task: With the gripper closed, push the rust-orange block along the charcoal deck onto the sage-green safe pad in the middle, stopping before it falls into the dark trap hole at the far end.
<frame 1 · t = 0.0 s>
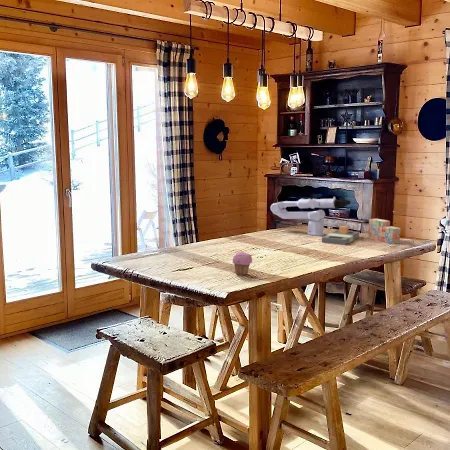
hand: (348, 203, 333), 22 cm above the table, tool horizontal, fingers open, 7 cm apart
block: (343, 233, 333), point 3 cm above the table, touching trap deck
trap deck: (341, 239, 329), on the table
stack of blocks: (383, 241, 328), on the table
cupcake: (242, 274, 240), on the table
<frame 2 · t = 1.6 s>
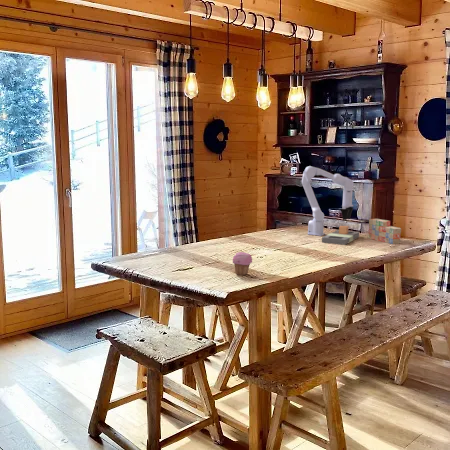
hand: (346, 219, 343), 10 cm above the table, tool pointing down, fingers open, 7 cm apart
nothing on the table moved.
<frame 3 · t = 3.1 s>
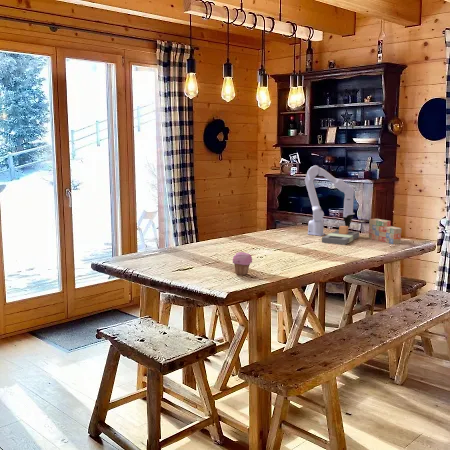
hand: (347, 227, 339), 6 cm above the table, tool pointing down, fingers closed
nothing on the table moved.
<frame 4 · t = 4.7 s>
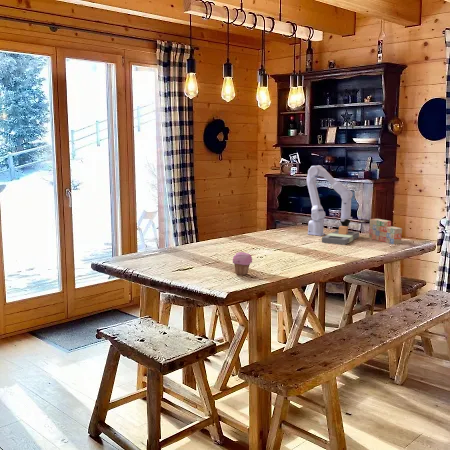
hand: (344, 231, 335), 4 cm above the table, tool pointing down, fingers closed
block: (343, 233, 332), point 3 cm above the table, touching gripper
everything else where it was.
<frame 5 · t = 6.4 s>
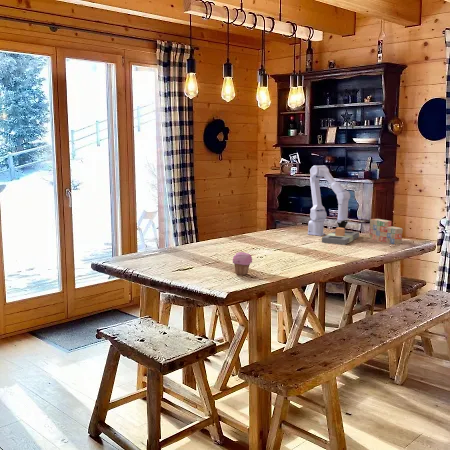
hand: (341, 233, 329), 4 cm above the table, tool pointing down, fingers closed
block: (339, 235, 326), point 3 cm above the table, touching gripper, trap deck
everything else where it was.
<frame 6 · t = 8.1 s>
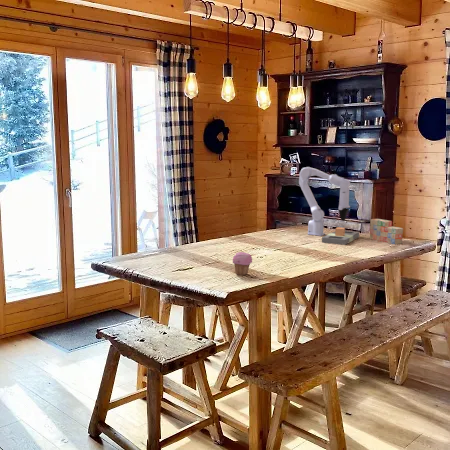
hand: (343, 220, 338), 10 cm above the table, tool pointing down, fingers closed
block: (339, 235, 326), point 3 cm above the table, touching trap deck
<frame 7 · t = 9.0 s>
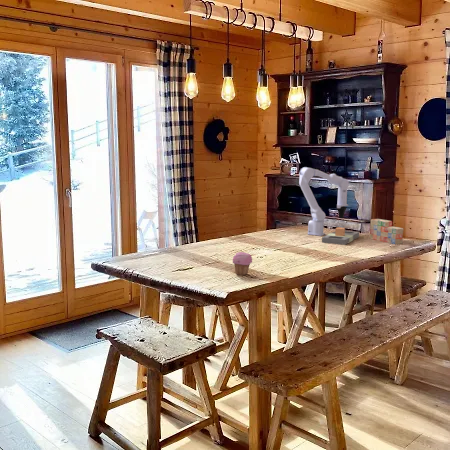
hand: (341, 218, 346), 10 cm above the table, tool pointing down, fingers closed
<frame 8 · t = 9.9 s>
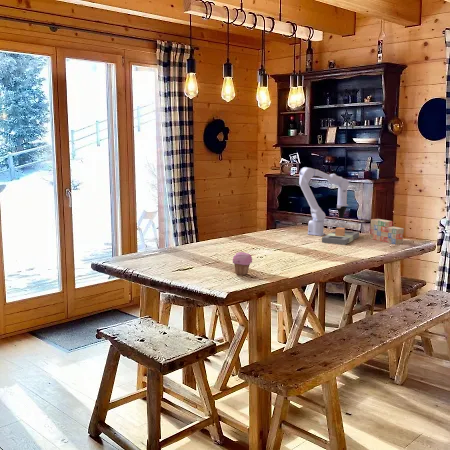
hand: (341, 218, 346), 10 cm above the table, tool pointing down, fingers closed
at the end: block 0.3 cm from the target spot, point 3.0 cm above the table; block tilted 0° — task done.
